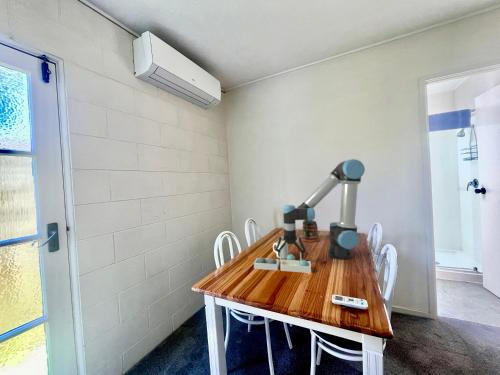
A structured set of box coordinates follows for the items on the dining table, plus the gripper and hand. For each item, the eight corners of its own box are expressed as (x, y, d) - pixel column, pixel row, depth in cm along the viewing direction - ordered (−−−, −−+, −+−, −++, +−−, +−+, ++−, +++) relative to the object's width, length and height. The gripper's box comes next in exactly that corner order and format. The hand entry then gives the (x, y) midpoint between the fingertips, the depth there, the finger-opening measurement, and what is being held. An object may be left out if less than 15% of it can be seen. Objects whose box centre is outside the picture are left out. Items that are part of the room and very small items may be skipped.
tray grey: (279, 265, 128) (278, 259, 127) (277, 271, 120) (277, 264, 120) (257, 264, 131) (256, 258, 131) (254, 269, 123) (253, 263, 123)
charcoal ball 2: (277, 265, 127) (276, 256, 126) (275, 269, 121) (275, 260, 121) (268, 264, 128) (268, 256, 128) (266, 268, 123) (266, 259, 122)
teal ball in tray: (308, 267, 122) (308, 258, 122) (308, 271, 116) (308, 262, 116) (298, 267, 123) (298, 258, 123) (298, 271, 118) (298, 261, 118)
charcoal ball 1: (266, 264, 128) (266, 256, 128) (265, 268, 123) (264, 259, 123) (258, 264, 130) (258, 255, 129) (256, 267, 124) (256, 258, 124)
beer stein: (315, 244, 166) (315, 220, 165) (298, 242, 173) (297, 219, 172) (320, 238, 182) (320, 216, 181) (304, 236, 189) (303, 215, 189)
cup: (284, 260, 136) (284, 245, 136) (269, 256, 144) (269, 242, 144) (290, 256, 142) (290, 242, 142) (276, 252, 150) (275, 239, 150)
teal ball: (295, 261, 133) (295, 253, 133) (295, 264, 128) (294, 256, 128) (286, 260, 135) (286, 252, 135) (286, 264, 130) (286, 255, 129)
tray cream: (310, 267, 123) (310, 261, 123) (311, 274, 115) (310, 267, 115) (282, 265, 127) (281, 259, 127) (280, 271, 119) (280, 264, 119)
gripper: (309, 228, 131) (310, 261, 132) (271, 227, 138) (272, 258, 138) (309, 231, 124) (310, 266, 125) (270, 230, 130) (271, 263, 131)
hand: (290, 262), depth 131 cm, fingers open, 12 cm apart
